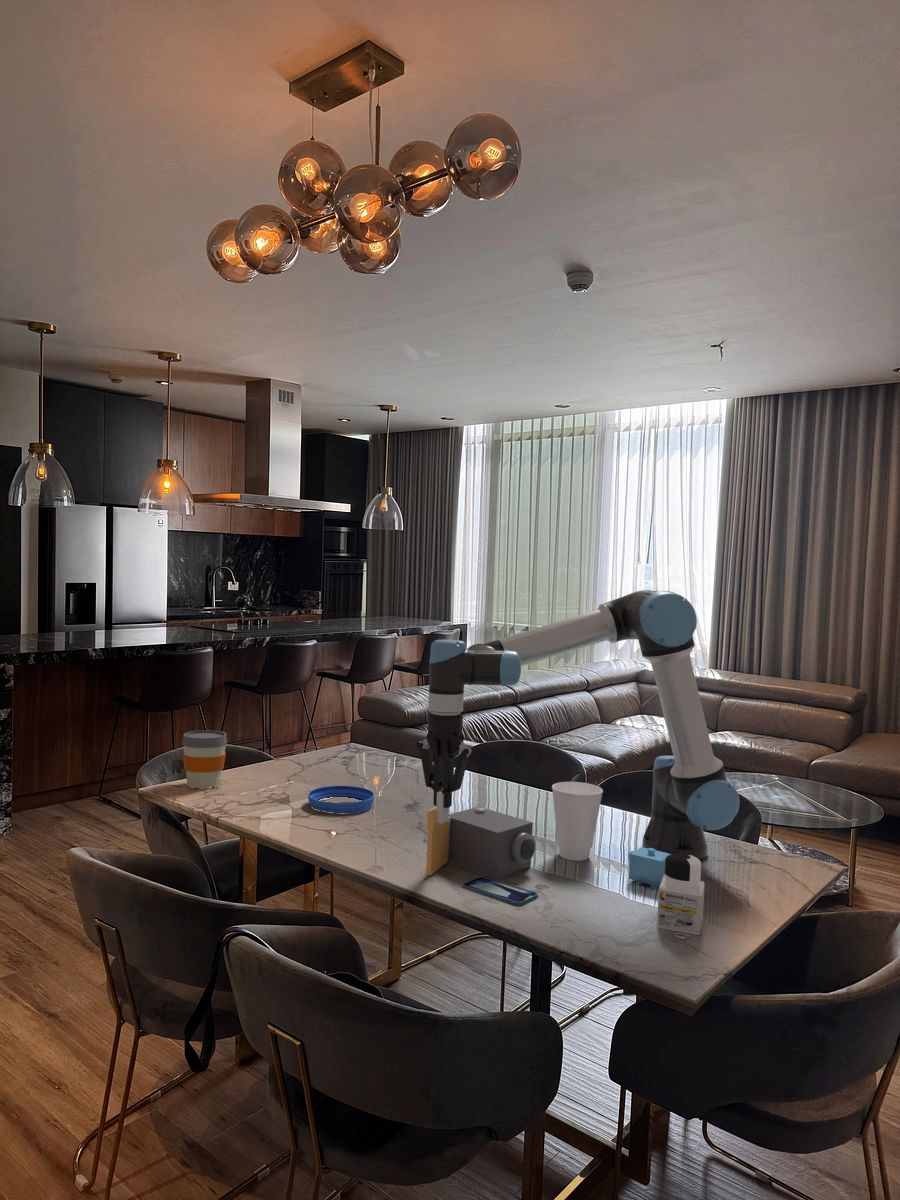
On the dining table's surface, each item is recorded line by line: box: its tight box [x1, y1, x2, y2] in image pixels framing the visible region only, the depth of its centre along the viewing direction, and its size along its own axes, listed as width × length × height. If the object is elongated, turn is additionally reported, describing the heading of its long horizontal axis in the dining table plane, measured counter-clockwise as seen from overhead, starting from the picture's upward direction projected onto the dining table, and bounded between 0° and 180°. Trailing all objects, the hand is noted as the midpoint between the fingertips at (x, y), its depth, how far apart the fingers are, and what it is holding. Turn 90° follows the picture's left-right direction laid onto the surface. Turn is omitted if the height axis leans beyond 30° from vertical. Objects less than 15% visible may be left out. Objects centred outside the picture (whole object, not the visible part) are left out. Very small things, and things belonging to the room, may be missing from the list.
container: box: [656, 853, 705, 936], centre depth 158 cm, size 8×8×13 cm
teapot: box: [627, 846, 670, 890], centre depth 179 cm, size 12×6×8 cm, turn 54°
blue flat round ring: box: [307, 785, 375, 814], centre depth 229 cm, size 18×18×4 cm
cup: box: [551, 781, 604, 862], centre depth 195 cm, size 12×12×16 cm
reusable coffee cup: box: [182, 729, 228, 789], centre depth 243 cm, size 13×13×15 cm
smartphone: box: [461, 876, 539, 907], centre depth 171 cm, size 7×1×15 cm
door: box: [425, 806, 451, 876], centre depth 182 cm, size 11×2×14 cm, turn 158°
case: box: [448, 806, 536, 880], centre depth 186 cm, size 18×12×11 cm, turn 47°
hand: (441, 821), depth 179 cm, fingers closed
